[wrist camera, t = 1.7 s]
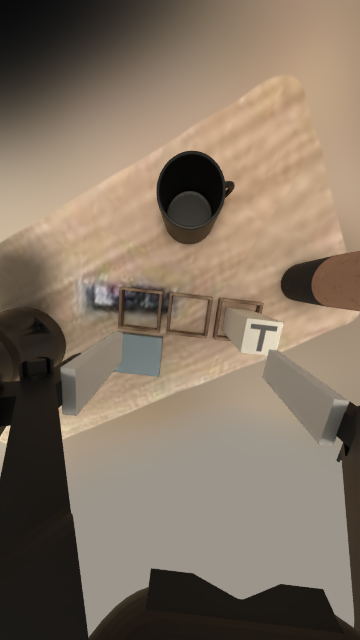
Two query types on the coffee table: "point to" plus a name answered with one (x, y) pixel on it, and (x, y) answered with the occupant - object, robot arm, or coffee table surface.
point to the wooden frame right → (215, 336)
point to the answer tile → (140, 354)
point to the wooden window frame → (189, 332)
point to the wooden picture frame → (121, 310)
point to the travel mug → (326, 282)
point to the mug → (191, 195)
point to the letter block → (251, 331)
